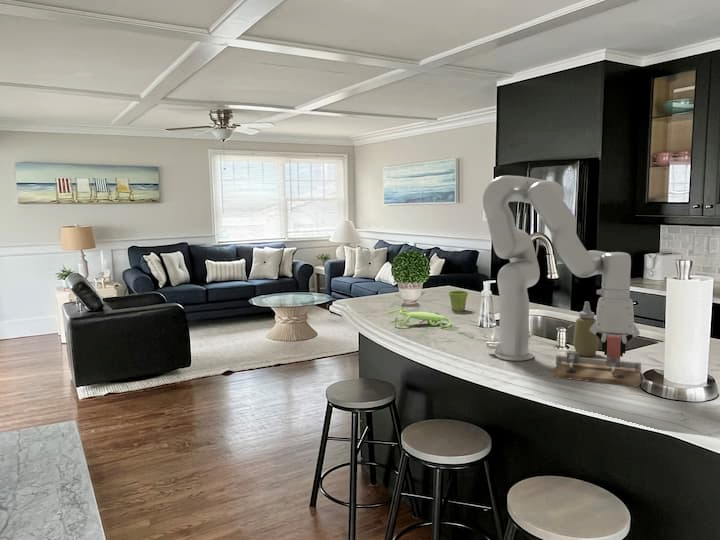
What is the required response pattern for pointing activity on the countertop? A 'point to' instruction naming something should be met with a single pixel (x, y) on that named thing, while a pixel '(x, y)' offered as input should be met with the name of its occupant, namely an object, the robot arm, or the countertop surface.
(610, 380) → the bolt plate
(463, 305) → the plant pot
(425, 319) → the figurine
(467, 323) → the countertop surface
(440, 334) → the countertop surface
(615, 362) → the sliding leg
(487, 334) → the countertop surface
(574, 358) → the trammel rail
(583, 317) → the squeeze bottle
